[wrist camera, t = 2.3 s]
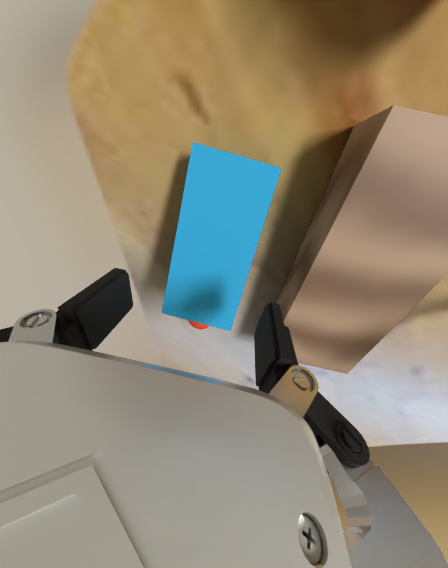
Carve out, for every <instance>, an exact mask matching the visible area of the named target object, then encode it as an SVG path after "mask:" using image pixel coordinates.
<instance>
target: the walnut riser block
mask: <svg viewBox="0 0 448 568" xmlns="http://www.w3.org/2000/svg"><path fill="white" fill-rule="evenodd" d="M447 274H448V117H446V116H442V115H437V114H432V113H428V112H423V111H418V110H414V109H409V108H404V107H400V106H395V105H393V106H391V107H389V108H388V109H386V110H384V111H382V112H380V113H378V114H376V115H374V116H372V117H370V118H368V119H367V120H365V121H363V122H361V123H359V124H357V125H355V126H354V127H353V129H352V132H351V134H350V136H349V139H348V141H347V143H346V145H345V148H344V150H343V152H342V154H341V157H340V159H339V161H338V163H337V166H336V168H335V170H334V173H333V175H332V177H331V179H330V182H329V184H328V186H327V188H326V191H325V193H324V195H323V198H322V200H321V202H320V204H319V207H318V209H317V211H316V213H315V216H314V218H313V220H312V223H311V225H310V227H309V229H308V232H307V234H306V236H305V238H304V241H303V243H302V245H301V247H300V250H299V252H298V254H297V257H296V259H295V261H294V263H293V266H292V268H291V270H290V272H289V275H288V277H287V279H286V282H285V284H284V286H283V288H282V291H281V293H280V295H279V297H278V300H277V302H276V304H279V305H280V308H281V313H282V317H283V321H284V326H287V327H288V328H289V330H290V334H291V338H292V342H293V346H294V350H295V354H296V358H297V361H298V363H301V364H306V365H310V366H315V367H319V368H324V369H328V370H333V371H337V372H342V373H346V374H347V373H348V372H349V371H350V370H351V369H352V368H353V367H354V366H355V365H356V364H357V363H358V362H359V361H360V360H361V359H362V358H363V357H364V356H365V355H366V354H367V353H368V352H369V351H370V350H371V349H372V348H373V347H374V346H375V345H376V344H377V343H378V342H379V341H380V340H381V339H382V338H383V337H384V336H385V335H386V334H387V333H388V332H389V331H390V330H391V329H392V328H393V327H395V326H396V325H397V324H398V323H399V322H400V321H401V320H402V319H403V318H404V317H405V316H406V315H407V314H408V313H409V312H410V311H411V310H412V309H413V308H414V307H415V306H416V305H417V304H418V303H419V302H420V301H421V300H422V299H423V298H424V297H425V296H426V295H427V294H428V293H429V292H430V291H431V290H432V289H433V288H434V287H435V286H436V285H437V284H438V283H439V282H440V281H441V280H442V279H443V278H444V277H445V276H446V275H447Z"/></svg>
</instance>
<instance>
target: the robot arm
mask: <svg viewBox="0 0 448 568" xmlns="http://www.w3.org/2000/svg"><path fill="white" fill-rule="evenodd" d="M132 306H133V301H132V294H131V288H130V281H129V275H128V273H126V271H125V270H122V269H118V268H114V269H113V270H111V271H110V272H108V273H107V274H106V275H104V276H103V277H101V278H100V279H98V280H97V281H95V282H94V283H92V284H91V285H90V286H88V287H87V288H85V289H84V290H82V291H81V292H80V293H78V294H76V295H75V296H74V297H72V298H71V299H69V300H68V301H66V302H65V303H63V304H62V305H61V306H59V307H58V309H59V310H58V311H57V312H55V311H53V310H50V309H42V310H36V311H33V312H30V313H28V314H25V315H24V316H22V317H21V318H19V319H18V320H17V321H16V323H15V325H14V326H13V327H9V328H5V329H1V330H0V568H448V565H447V563H446V560H445V558H444V556H443V554H442V552H441V550H440V548H439V547H438V545H437V544H436V542H435V540H434V539H433V537H432V536H431V535H430V533H429V532H428V531H427V529H426V528H425V527H424V525H423V524H422V523H421V521H420V520H419V519H418V517H417V516H416V515H415V513H414V512H413V510H412V509H411V508H410V507H409V505H408V504H407V502H406V501H405V500H404V498H403V497H402V496H401V494H400V493H399V492H398V490H397V489H396V487H395V486H394V485H393V484H392V482H391V481H390V479H389V478H388V477H387V475H386V474H385V473H384V471H383V470H382V469H381V467H380V466H379V465H378V464H376V465H375V464H374V463H373V461H372V460H371V458H370V454H369V449H368V446H367V444H366V442H365V440H364V438H363V437H362V435H361V434H360V433H359V431H358V430H357V429H356V428H355V427H354V426H353V425H352V424H351V423H350V422H349V421H348V420H347V419H346V418H345V417H344V416H343V415H342V414H341V413H340V412H339V411H337V410H336V409H335V408H334V407H333V406H332V405H331V404H330V403H329V402H328V401H327V400H326V399H325V398H324V397H323V396H322V395H321V394H320V393H319V392H318V383H317V380H316V378H315V377H314V375H313V374H312V373H311V372H310V371H309V370H307V369H306V368H304V367H302V366H299V365H298V361H297V358H296V354H295V350H294V346H293V342H292V338H291V334H290V330H289V328H288V327H287V326H284V321H283V317H282V313H281V308H280V305H279V304H275V303H270V304H267V305H266V307H265V309H264V311H263V314H262V316H261V319H260V321H259V323H258V326H257V328H256V331H255V335H254V339H255V371H256V386H259V390H256V389H253V388H249V387H246V386H242V385H238V384H234V383H230V382H226V381H222V380H218V379H214V378H210V377H205V376H201V375H197V374H192V373H188V372H184V371H179V370H175V369H171V368H166V367H162V366H157V365H153V364H149V363H144V362H140V361H135V360H131V359H127V358H122V357H117V356H113V355H108V354H104V353H99V352H95V351H92V350H93V349H95V348H97V347H98V346H99V344H100V343H101V342H102V341H103V340H104V339H105V338H106V337H107V335H108V334H109V333H110V332H111V331H112V330H113V329H114V328H115V326H116V325H117V324H118V323H119V322H120V321H121V320H122V319H123V317H124V316H125V315H126V314H127V313H128V312H129V311H130V310H131V308H132ZM328 474H330V476H331V478H332V479H333V481H334V483H335V485H336V487H335V489H336V491H337V493H338V495H339V496H340V498H341V500H342V503H343V505H344V507H345V510H346V515H347V528H346V530H345V532H344V533H343V529H342V525H341V521H340V518H339V513H338V510H337V506H336V502H335V498H334V494H333V490H332V487H331V483H330V480H329V477H328ZM301 514H302V515H301Z"/></svg>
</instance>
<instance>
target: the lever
mask: <svg viewBox="0 0 448 568" xmlns="http://www.w3.org/2000/svg"><path fill="white" fill-rule="evenodd" d="M280 171H281V168H280V167H276V166H273V165H269V164H266V163H263V162H259V161H256V160H252V159H249V158H245V157H242V156H238V155H235V154H232V153H228V152H225V151H221V150H218V149H214V148H211V147H207V146H204V145H201V144H197V143H192V149H191V154H190V160H189V165H188V171H187V176H186V182H185V187H184V193H183V198H182V204H181V209H180V215H179V220H178V226H177V231H176V237H175V242H174V248H173V253H172V259H171V264H170V270H169V275H168V281H167V287H166V292H165V298H164V303H163V309H162V313H164V314H168V315H171V316H175V317H179V318H183V319H187V320H189V322H190V324H191V325H192V326H193V327H194V328H197V329H205V328H207V327H209V326H213V327H217V328H221V329H224V330H228V331H230V330H231V327H232V324H233V321H234V318H235V315H236V311H237V308H238V305H239V302H240V299H241V296H242V292H243V289H244V286H245V283H246V280H247V276H248V273H249V270H250V267H251V264H252V261H253V257H254V254H255V251H256V248H257V245H258V241H259V238H260V235H261V232H262V229H263V226H264V222H265V219H266V216H267V213H268V210H269V206H270V203H271V200H272V197H273V194H274V190H275V187H276V184H277V181H278V178H279V175H280Z"/></svg>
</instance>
